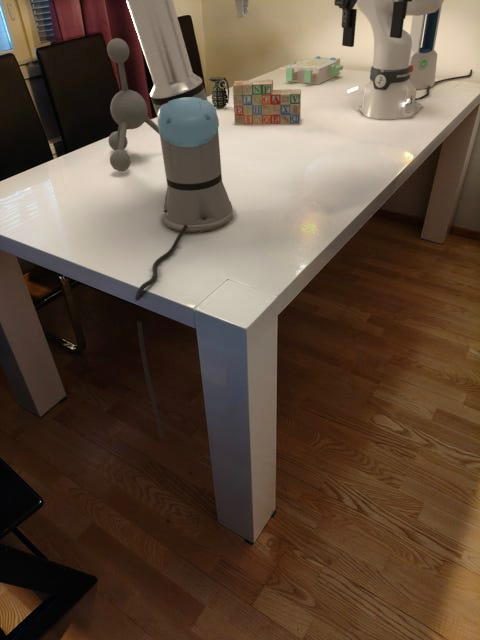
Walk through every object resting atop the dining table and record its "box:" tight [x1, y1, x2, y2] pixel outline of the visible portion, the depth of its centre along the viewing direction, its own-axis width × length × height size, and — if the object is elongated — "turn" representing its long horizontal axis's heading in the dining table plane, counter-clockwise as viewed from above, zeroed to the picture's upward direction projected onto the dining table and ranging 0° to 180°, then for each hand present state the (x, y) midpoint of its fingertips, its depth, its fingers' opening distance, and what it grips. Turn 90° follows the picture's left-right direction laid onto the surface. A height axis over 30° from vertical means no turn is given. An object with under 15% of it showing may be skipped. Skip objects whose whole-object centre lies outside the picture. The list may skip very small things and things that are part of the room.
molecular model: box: [106, 37, 160, 172], centre depth 131 cm, size 24×22×30 cm
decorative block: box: [285, 55, 344, 85], centre depth 205 cm, size 26×6×20 cm
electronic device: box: [409, 4, 443, 90], centre depth 178 cm, size 12×8×30 cm, turn 105°
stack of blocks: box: [232, 79, 302, 126], centre depth 158 cm, size 21×6×12 cm, turn 81°
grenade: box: [208, 76, 230, 110], centre depth 174 cm, size 7×6×10 cm
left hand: (372, 41), depth 103 cm, fingers open, 13 cm apart
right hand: (242, 15), depth 144 cm, fingers open, 8 cm apart
